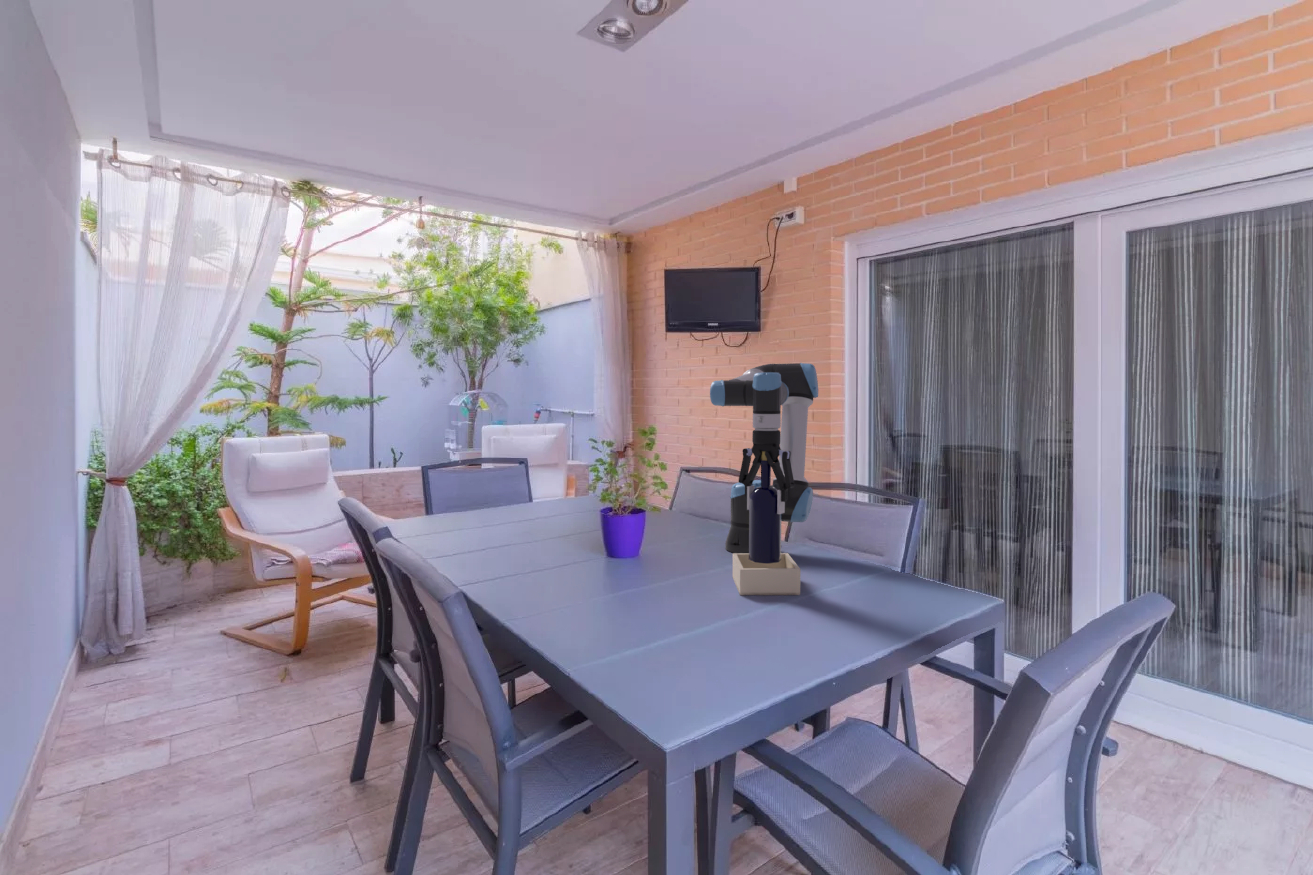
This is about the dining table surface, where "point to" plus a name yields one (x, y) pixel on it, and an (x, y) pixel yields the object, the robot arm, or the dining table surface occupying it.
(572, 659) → the dining table surface
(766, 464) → the bottle
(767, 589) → the bin
